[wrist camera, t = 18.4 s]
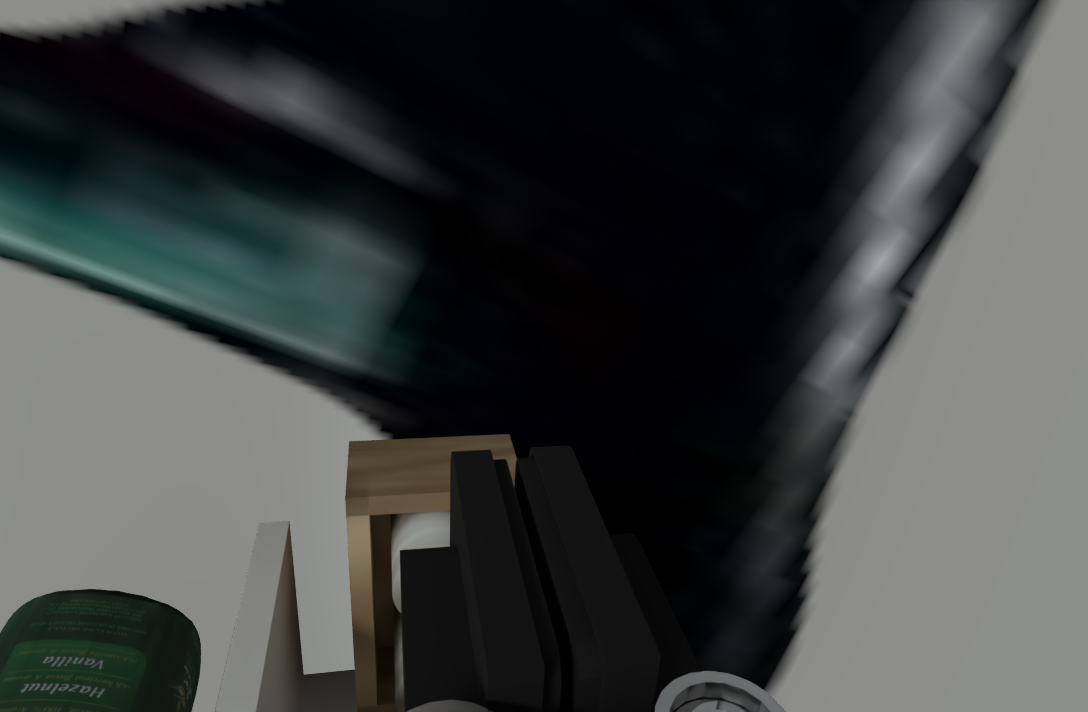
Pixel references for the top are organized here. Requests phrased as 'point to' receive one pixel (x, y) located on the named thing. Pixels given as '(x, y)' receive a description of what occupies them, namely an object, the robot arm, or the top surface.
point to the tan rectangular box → (276, 641)
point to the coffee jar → (98, 655)
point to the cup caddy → (395, 543)
